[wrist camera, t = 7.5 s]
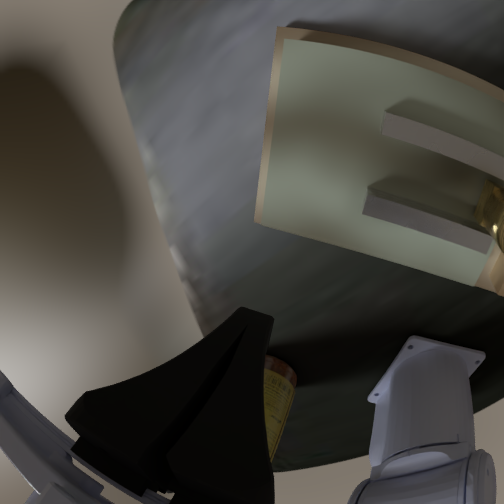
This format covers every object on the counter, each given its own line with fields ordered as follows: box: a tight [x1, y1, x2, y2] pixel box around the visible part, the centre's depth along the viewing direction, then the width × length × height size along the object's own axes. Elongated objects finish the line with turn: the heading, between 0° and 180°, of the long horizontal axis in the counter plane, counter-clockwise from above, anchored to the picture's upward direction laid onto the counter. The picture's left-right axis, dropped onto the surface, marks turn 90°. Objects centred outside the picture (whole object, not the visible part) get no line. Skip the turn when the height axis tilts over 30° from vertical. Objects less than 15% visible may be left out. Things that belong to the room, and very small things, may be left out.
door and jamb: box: [254, 27, 504, 296], centre depth 12 cm, size 12×26×3 cm, turn 84°
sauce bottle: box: [264, 355, 297, 462], centre depth 20 cm, size 7×6×20 cm
